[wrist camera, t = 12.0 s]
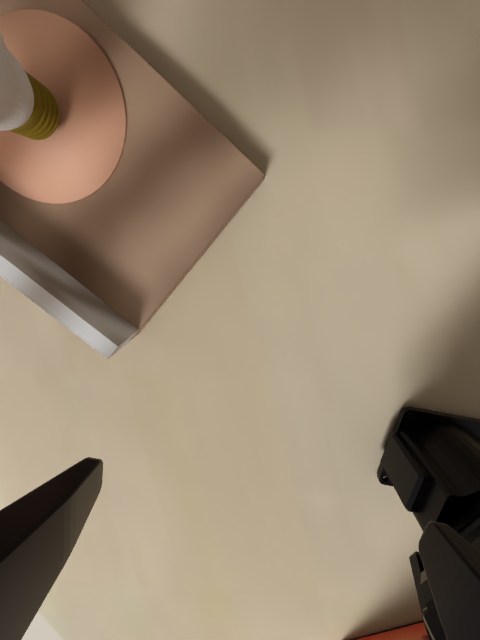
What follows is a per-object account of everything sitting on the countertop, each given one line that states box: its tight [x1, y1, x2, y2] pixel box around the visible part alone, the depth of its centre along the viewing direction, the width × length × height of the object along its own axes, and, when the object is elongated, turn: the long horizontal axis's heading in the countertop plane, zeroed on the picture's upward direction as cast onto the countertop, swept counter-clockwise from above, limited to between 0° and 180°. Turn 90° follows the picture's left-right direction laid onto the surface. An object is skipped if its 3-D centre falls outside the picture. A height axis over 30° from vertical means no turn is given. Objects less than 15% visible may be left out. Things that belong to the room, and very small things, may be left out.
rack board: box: [0, 0, 264, 359], centre depth 16 cm, size 22×13×4 cm, turn 49°
